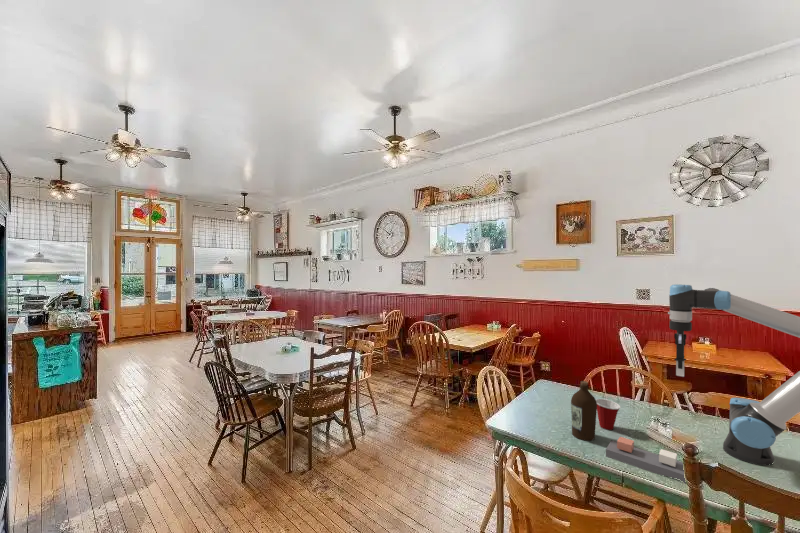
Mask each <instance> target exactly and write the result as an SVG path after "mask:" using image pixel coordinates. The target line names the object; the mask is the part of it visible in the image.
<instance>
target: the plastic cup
mask: <svg viewBox="0 0 800 533" xmlns="http://www.w3.org/2000/svg"><path fill="white" fill-rule="evenodd" d="M595 400H596V402H597V413H596V414H597V419H598V423H599V426H600V428H601V429H604V430H607V431H611V430H614V427H615V423H616V419H617V415H618V412H619V410H620V409H621V405H620V404H618V403H617V402H615V401H612V400H609V399H606V398H605V399H604V398H595Z"/></svg>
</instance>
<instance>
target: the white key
mask: <svg viewBox="0 0 800 533" xmlns="http://www.w3.org/2000/svg"><path fill="white" fill-rule="evenodd" d="M658 455H659V462H661V463H664V464H668V465H671V466H674V467H675V466H676V462H677V461H678V460H677V459H678V453H676V452H673V451H668V450H666V449H662V448H660V450H659V453H658Z"/></svg>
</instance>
